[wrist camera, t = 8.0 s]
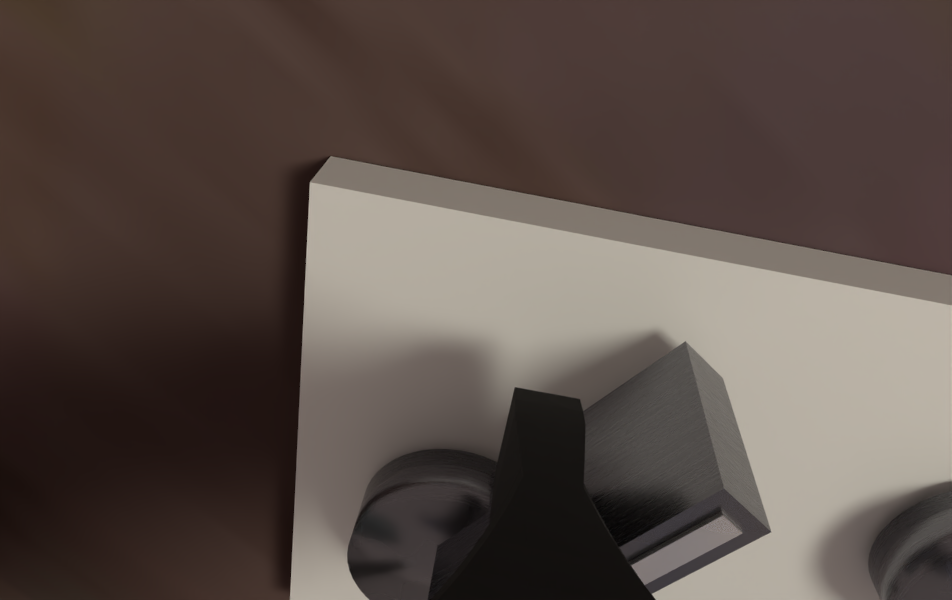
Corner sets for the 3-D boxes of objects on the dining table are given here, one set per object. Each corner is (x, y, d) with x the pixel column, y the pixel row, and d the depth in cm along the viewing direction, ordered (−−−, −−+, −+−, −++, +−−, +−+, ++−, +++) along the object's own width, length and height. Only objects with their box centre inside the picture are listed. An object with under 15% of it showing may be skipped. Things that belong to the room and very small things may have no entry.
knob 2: (454, 599, 20) (427, 777, 16) (327, 508, 18) (265, 677, 15) (765, 412, 16) (832, 591, 12) (631, 278, 14) (656, 430, 10)
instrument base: (938, 704, 23) (973, 782, 21) (304, 581, 23) (280, 647, 21) (1259, 334, 16) (1358, 401, 14) (330, 156, 16) (297, 197, 14)
